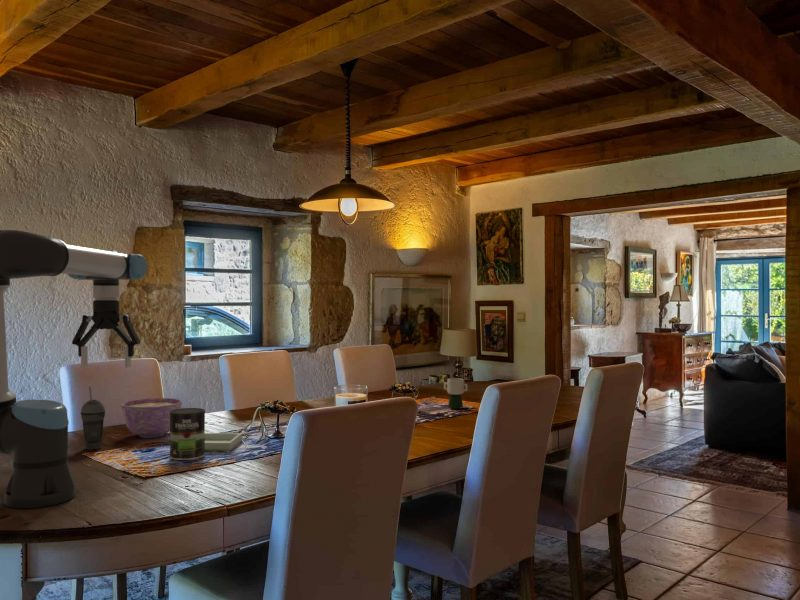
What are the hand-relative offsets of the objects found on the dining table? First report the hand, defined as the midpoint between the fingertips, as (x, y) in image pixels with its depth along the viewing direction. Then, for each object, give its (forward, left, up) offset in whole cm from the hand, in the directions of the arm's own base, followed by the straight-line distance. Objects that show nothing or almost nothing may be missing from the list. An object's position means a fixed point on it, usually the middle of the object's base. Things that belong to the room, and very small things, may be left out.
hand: (106, 367), depth 205 cm
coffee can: (-6, -28, -27) cm, 39 cm away
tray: (+8, -32, -27) cm, 42 cm away
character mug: (+80, -115, -27) cm, 143 cm away
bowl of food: (+24, -5, -27) cm, 36 cm away
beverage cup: (+4, +6, -27) cm, 28 cm away
